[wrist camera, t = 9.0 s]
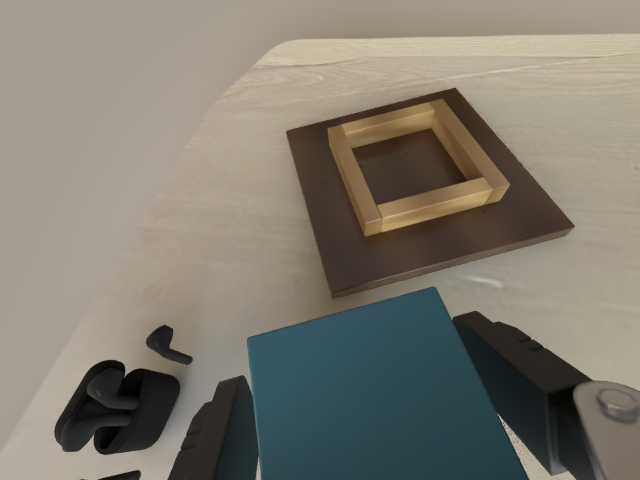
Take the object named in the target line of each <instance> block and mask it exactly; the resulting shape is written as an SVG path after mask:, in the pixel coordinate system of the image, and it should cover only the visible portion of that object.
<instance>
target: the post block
mask: <svg viewBox="0 0 640 480" xmlns="http://www.w3.org/2000/svg"><path fill="white" fill-rule="evenodd" d="M247 346H248V356H249V365H250V375H251V384H252V394H253V404H254V413H255V423H256V432H257V442H258V451H259V461H260V470H261V480H529V478H528V476H527V474H526V472H525V470H524V468H523V466H522V464H521V462H520V459H519V457H518V455H517V453H516V451H515V449H514V447H513V445H512V443H511V441H510V439H509V437H508V435H507V433H506V431H505V429H504V427H503V425H502V422H501V420H500V418H499V416H498V414H497V412H496V410H495V408H494V406H493V404H492V402H491V400H490V398H489V396H488V394H487V392H486V390H485V388H484V385H483V383H482V381H481V379H480V377H479V375H478V373H477V371H476V369H475V367H474V365H473V363H472V361H471V359H470V357H469V355H468V353H467V351H466V348H465V346H464V344H463V342H462V340H461V338H460V336H459V334H458V332H457V330H456V328H455V326H454V324H453V322H452V320H451V318H450V316H449V314H448V311H447V309H446V307H445V305H444V303H443V301H442V299H441V297H440V295H439V293H438V291H437V289H436V288H435V287H430V288H426V289H423V290H419V291H415V292H412V293H408V294H404V295H401V296H397V297H394V298H390V299H386V300H383V301H379V302H375V303H372V304H368V305H364V306H361V307H357V308H354V309H350V310H346V311H343V312H339V313H335V314H332V315H328V316H324V317H321V318H317V319H314V320H310V321H306V322H303V323H299V324H295V325H292V326H288V327H284V328H281V329H277V330H273V331H270V332H266V333H263V334H259V335H255V336H252V337H249V338H248V339H247Z"/></svg>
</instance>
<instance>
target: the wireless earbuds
mask: <svg viewBox="0 0 640 480" xmlns="http://www.w3.org/2000/svg"><path fill="white" fill-rule="evenodd" d="M172 337H173V329H172V328H170V327H168V326H166V325H163V326H161V327H159V328H157V329H156V330H155V331H153V332H152V333H151V334H150V335H149V337H148V338H147V340H146V344H147V346H148V347H149V348H150V349H152V350H154V351H156V352H157V353H159V354H160V355H161V356H162V357H164V358H166V359H169V360H172V361H176V362H179V363H182V364H185V365H190V364H191V363H192V361H193V358H192V357H191V356H188V355H186V354H183V353H180V352H178V351H175V350H172V349H170V347H169V345H170V343H171V340H172ZM124 376H125V366H124V364H123V363H122V362H119V361H116V360H106V361H102V362H99V363H97V364H96V365H94V366H93V367H91V368H90V369H89V370H88V372H87V373H86V375H85V376H84V378H83V380H82V381H81V383H80V385H79V386H78V388H77V390H76V391H75V393H74V394H73V396H72V398H71V399H70V401H69V403H68V404H67V406H66V408H65V409H64V411H63V413H62V414H61V416H60V418H59V419H58V421H57V423H56V426H55V431H54V432H55V438H56V441H57V442H58V443H59V444H60V445H61V446H62V449H63V451H65V452H75V451H79V450H80V449H82V448H83V447H84V446H85V445H86V444H87V443H88V441H89V440H90V439H91V438H92V436H93V435H94V446H95V449H96V450H97V451H98V452H99V453H100V454H104V455H108V454H115V453H122V452H129V451H136V450H142V449H146V448H148V447H150V446H152V445H153V444H154V443H155V442H156V441H157V440H158V439H159V437H160V435H161V433H162V431H163V429H164V427H165V424H166V422H167V420H168V418H169V416H170V413H171V411H172V409H173V407H174V404H175V402H176V400H177V398H178V395H179V392H180V384H179V382H178V380H177V379H176V378H175V377H174V376H172V375H168V374H164V373H160V372H155V371H151V370H147V369H142V368H141V369H135V370H133V371H131V372H130V373H128V374H127V375H126V376H125V377H124ZM94 433H95V434H94ZM140 477H141V472H140V471H139V470H136V471H131V472H127V473H123V474H118V475H114V476H110V477H105V478H102V479H99V480H139V479H140ZM82 480H83V479H82Z"/></svg>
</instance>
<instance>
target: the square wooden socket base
mask: <svg viewBox="0 0 640 480" xmlns="http://www.w3.org/2000/svg"><path fill="white" fill-rule="evenodd" d="M286 134H287V138H288V142H289V146H290V149H291V153H292V156H293V160H294V164H295V167H296V171H297V174H298V178H299V182H300V185H301V189H302V193H303V196H304V200H305V203H306V207H307V211H308V214H309V218H310V221H311V225H312V229H313V232H314V236H315V240H316V243H317V247H318V250H319V254H320V258H321V261H322V265H323V268H324V272H325V276H326V279H327V283H328V287H329V290H330V294H331V297H332V299H335V298H339V297H343V296H346V295H350V294H353V293H357V292H361V291H364V290H368V289H372V288H375V287H379V286H383V285H386V284H390V283H394V282H397V281H401V280H405V279H408V278H412V277H416V276H419V275H423V274H427V273H430V272H434V271H438V270H441V269H445V268H449V267H452V266H456V265H460V264H463V263H467V262H471V261H474V260H478V259H482V258H485V257H489V256H493V255H496V254H500V253H504V252H507V251H511V250H514V249H518V248H522V247H525V246H529V245H533V244H536V243H540V242H544V241H547V240H551V239H555V238H558V237H562V236H565V235H566V234H568V233H569V232H570V231H571V230H572V229H573V228H574V227H575V226H574V224H573V223H572V222H571V221H570V220H569V219H568V218H567V216H566V215H565V214H564V213H563V212H562V211H561V209H560V208H559V207H558V206H557V205H556V204H555V202H554V201H553V200H552V199H551V198H550V197H549V196H548V194H547V193H546V192H545V191H544V190H543V189H542V187H541V186H540V185H539V184H538V183H537V182H536V180H535V179H534V178H533V177H532V176H531V175H530V173H529V172H528V171H527V170H526V169H525V168H524V167H523V165H522V164H521V163H520V162H519V161H518V160H517V158H516V157H515V156H514V155H513V154H512V153H511V151H510V150H509V149H508V148H507V147H506V146H505V145H504V143H503V142H502V141H501V140H500V139H499V138H498V136H497V135H496V134H495V133H494V132H493V131H492V129H491V128H490V127H489V126H488V125H487V124H486V123H485V121H484V120H483V119H482V118H481V117H480V116H479V114H478V113H477V112H476V111H475V110H474V109H473V107H472V106H471V105H470V104H469V103H468V102H467V100H466V99H465V98H464V97H463V96H462V95H461V94H460V92H459V91H458V90H457V89H456V88H452V89H448V90H444V91H440V92H436V93H432V94H429V95H425V96H421V97H417V98H413V99H409V100H405V101H401V102H397V103H393V104H389V105H385V106H382V107H378V108H374V109H370V110H366V111H362V112H358V113H354V114H350V115H346V116H342V117H338V118H334V119H331V120H327V121H323V122H319V123H315V124H311V125H307V126H303V127H299V128H295V129H291V130H287V131H286Z"/></svg>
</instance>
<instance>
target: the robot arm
mask: <svg viewBox="0 0 640 480" xmlns="http://www.w3.org/2000/svg"><path fill="white" fill-rule="evenodd" d="M452 322H453V324H454V326H455V328H456V330H457V332H458V334H459V336H460V338H461V340H462V342H463V344H464V346H465V348H466V351H467V353H468V355H469V357H470V359H471V361H472V363H473V365H474V367H475V369H476V371H477V373H478V375H479V377H480V379H481V381H482V383H483V385H484V388H485V390H486V392H487V394H488V396H489V398H490V400H491V402H492V404H493V406H494V408H495V410H496V412H497V413H498V414H499V415H500V416H501V418H502V419H503V420H504V421H505V422H506V423H507V425H508V426H509V427H510V428H511V429H512V431H513V432H514V433H515V434H516V435H517V436H518V438H519V439H520V440H521V441H522V442H523V443H524V445H525V446H526V447H527V448H528V449H529V450H530V452H531V453H532V454H533V455H534V456H535V457H536V459H537V460H538V461H539V462H540V463H541V464H542V466H543V467H544V468H545V469H546V470H547V471H548V473H549V474H550V475H551V476H553V475H556V474H559V473H563V472H566V471H569V472H570V473H571V474H572V475H573V476H574V477H575V479H576V480H640V391H638V390H636V389H634V388H631V387H628V386H625V385H622V384H618V383H614V382H608V381H593V380H592V379H590V378H589V377H587V376H586V375H584V374H583V373H581V372H580V371H579V370H577V369H576V368H574V367H573V366H571V365H570V364H568V363H567V362H565V361H564V360H563V359H561V358H560V357H558V356H557V355H555V354H554V353H552V352H551V351H550V350H548V349H547V348H545V349H544V348H543V346H542V345H541V344H539V343H538V342H536V341H535V340H532V339H531V337H529V336H528V335H526V334H525V333H523V332H522V331H520V330H519V329H518V328H516V327H513V326H510V325H507V324H504V323H502V322H499V321H498V322H495V323H493V322H491V321H490V320H489V319H487V318H486V317H485V316H483V315H482V314H481V313H479V312H477V311H473V312H470V313H466V314H463V315H459V316H455V317H453V319H452ZM186 435H187V436H186V437H185V439H184V441H183V443H182V446H181V451H179V453H178V456H177V458H176V460H175V463H174V465H173V468H172V470H171V473H170V475H169V477H168V480H256V472H257V464H258V456H259V451H258V442H257V432H256V423H255V413H254V404H253V396H252V394H251V391H250V388H249V385H248V383H247V380H246V378H245V377H244V376H243V375H242V376H238V377H234V378H231V379H227V380H224V381H220V382H219V383H218V386H217V388H216V391H215V394H214V397H213V400H212V401H211V402H207V403H205V404H204V405H203V406H202V407H201V409H200V410H199V411H198V412H197V414H196V415H195V416H194V417H193V419H192V422H191V424H190V426H189V429H188V431H187V434H186Z"/></svg>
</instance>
